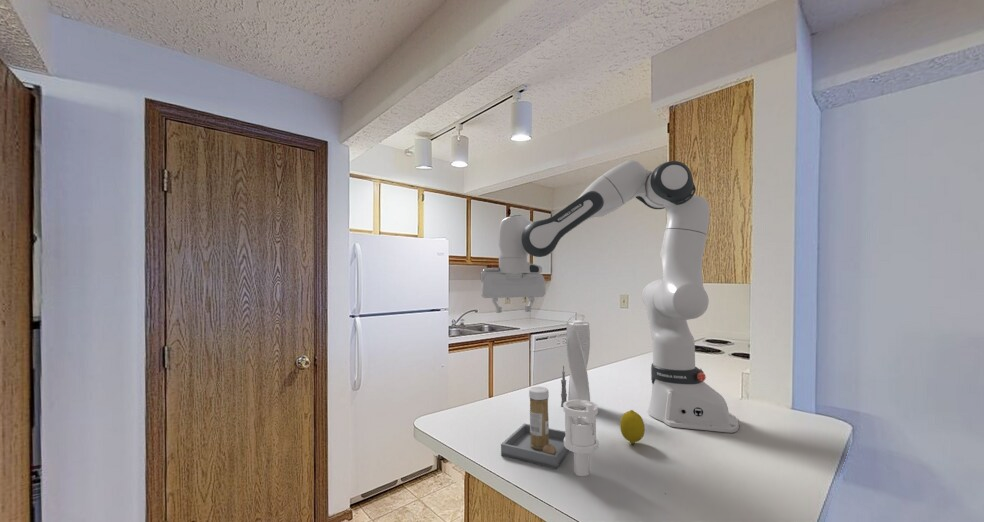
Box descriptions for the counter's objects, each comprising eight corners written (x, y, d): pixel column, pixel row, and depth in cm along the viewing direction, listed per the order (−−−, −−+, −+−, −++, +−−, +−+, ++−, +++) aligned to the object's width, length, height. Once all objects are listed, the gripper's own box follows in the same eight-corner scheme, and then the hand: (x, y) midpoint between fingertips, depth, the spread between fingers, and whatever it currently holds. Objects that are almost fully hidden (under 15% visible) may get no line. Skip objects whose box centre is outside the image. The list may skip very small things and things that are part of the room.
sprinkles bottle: (553, 447, 89) (552, 389, 89) (538, 452, 87) (537, 393, 87) (540, 440, 93) (540, 384, 93) (525, 445, 91) (525, 388, 91)
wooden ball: (558, 457, 85) (558, 443, 85) (553, 463, 82) (553, 449, 82) (545, 454, 86) (545, 440, 86) (540, 460, 83) (540, 446, 83)
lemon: (644, 440, 94) (643, 407, 94) (645, 450, 89) (644, 415, 89) (620, 437, 96) (619, 405, 96) (620, 447, 90) (619, 413, 91)
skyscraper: (571, 399, 124) (570, 313, 125) (595, 404, 120) (593, 315, 120) (560, 407, 118) (558, 316, 118) (585, 413, 113) (583, 318, 114)
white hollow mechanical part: (577, 485, 75) (576, 407, 75) (557, 468, 81) (556, 397, 81) (606, 476, 77) (605, 402, 78) (584, 461, 84) (583, 392, 84)
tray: (574, 443, 92) (574, 433, 92) (556, 468, 81) (556, 457, 81) (524, 433, 99) (524, 423, 99) (501, 455, 87) (500, 444, 87)
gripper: (481, 267, 114) (482, 314, 114) (547, 267, 118) (547, 312, 118) (478, 268, 120) (478, 312, 120) (540, 267, 124) (541, 310, 124)
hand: (513, 312), depth 119 cm, fingers open, 8 cm apart
